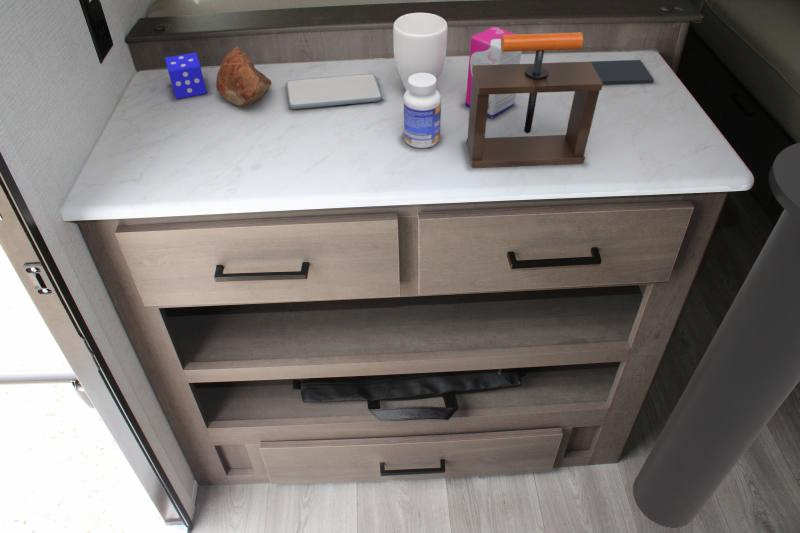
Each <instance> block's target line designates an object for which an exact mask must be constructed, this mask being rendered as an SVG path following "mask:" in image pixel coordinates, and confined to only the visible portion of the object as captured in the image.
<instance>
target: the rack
mask: <svg viewBox="0 0 800 533" xmlns="http://www.w3.org/2000/svg"><path fill="white" fill-rule="evenodd" d="M591 62H592V61H566V62H563V61H562V62H542V67H543V68H545V69H547V70H548V77H547V78H545V79H542V80H534V79H530V78H528V77H527V76H526V75H525V70H526V69H527V68H528V67H531V66H534V63H520V64H502V65H473V67H472V73H473V76H472V88H471V100H470V108H469V111H468V112H469V113H468V124H467V125H468V126H467V138H466V143H465V144H466V149H467V153H468V158H469V162H470V165H471V166H470V167H471V169H481V168H482V169H483V168H503V167H504V168H509V167H532V166H533V167H534V166H557V165H582V164H584V163H585V159H586V157H585V153H586V148H587V144H588V140H589V135H590V132H591V128H592V124H593V119H594V115H595V111H596V108H597V102H598V100H599V94H600V92H601V91H602V89H603V85H604V84H603V83H602V81H601V79H600V78H599V76H598V74H597V72H596V71H595V69H594V67H593V65H592V64H591ZM565 92H566V93H567V92H570V93H571V92H574V93H573V98H572V103H571V108H570V112H569V117H568V123H567V126H566V131H565V134H549V135H522V136H521V135H519V136H498V137H494V136H493V137H486V131H487V130H486V128H487V122H488V121H487V119H488V116H487V111H488V102H489V94H516V95H517V94H530V93H537V94H538V93H539V94H540V93H541V94H543V93H565Z"/></svg>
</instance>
